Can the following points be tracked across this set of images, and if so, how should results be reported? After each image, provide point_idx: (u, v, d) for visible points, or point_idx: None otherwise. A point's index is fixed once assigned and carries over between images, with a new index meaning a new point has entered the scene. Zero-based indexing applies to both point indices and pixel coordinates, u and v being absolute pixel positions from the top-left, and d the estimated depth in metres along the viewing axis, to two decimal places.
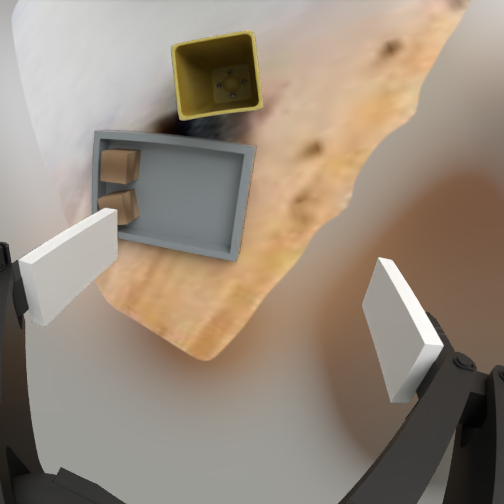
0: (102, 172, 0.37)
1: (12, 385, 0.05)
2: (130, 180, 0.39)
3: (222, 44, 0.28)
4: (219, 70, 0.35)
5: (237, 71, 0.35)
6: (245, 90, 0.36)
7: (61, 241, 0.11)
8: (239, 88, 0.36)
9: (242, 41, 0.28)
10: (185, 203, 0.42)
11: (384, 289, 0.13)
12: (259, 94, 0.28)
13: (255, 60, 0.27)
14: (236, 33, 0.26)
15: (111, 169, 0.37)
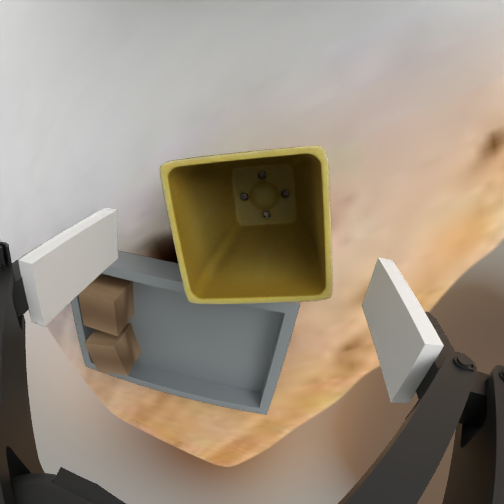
0: (84, 316, 0.27)
1: (12, 385, 0.05)
2: (123, 326, 0.28)
3: None
4: (244, 171, 0.24)
5: (274, 175, 0.24)
6: (286, 208, 0.25)
7: (61, 241, 0.11)
8: (277, 204, 0.25)
9: None
10: (200, 348, 0.31)
11: (384, 289, 0.13)
12: (328, 276, 0.17)
13: (326, 214, 0.16)
14: (291, 151, 0.15)
15: (95, 316, 0.27)
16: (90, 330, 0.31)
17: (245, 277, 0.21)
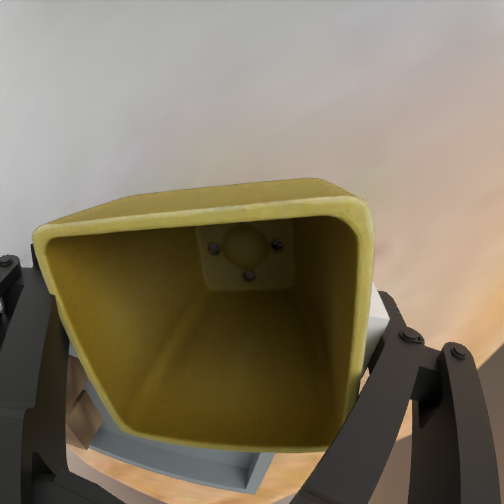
0: None
1: (49, 387, 0.06)
2: (73, 400, 0.19)
3: None
4: None
5: None
6: (279, 267, 0.16)
7: None
8: (265, 261, 0.16)
9: None
10: None
11: None
12: None
13: (358, 342, 0.07)
14: (286, 210, 0.06)
15: None
16: None
17: (209, 395, 0.12)
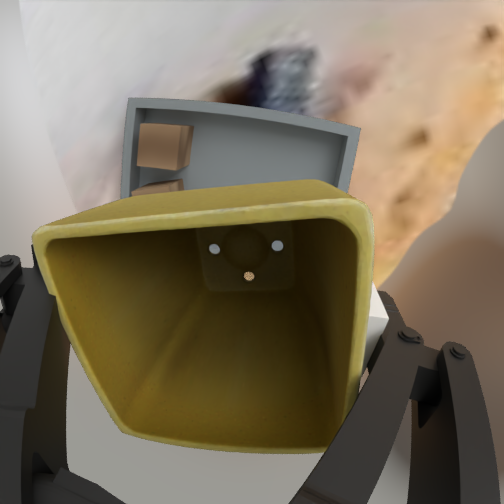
0: (140, 153, 0.27)
1: (50, 387, 0.06)
2: (181, 166, 0.28)
3: None
4: None
5: None
6: (279, 268, 0.16)
7: None
8: (265, 262, 0.16)
9: None
10: None
11: None
12: None
13: (358, 344, 0.07)
14: (286, 212, 0.06)
15: (154, 149, 0.27)
16: None
17: (209, 396, 0.12)
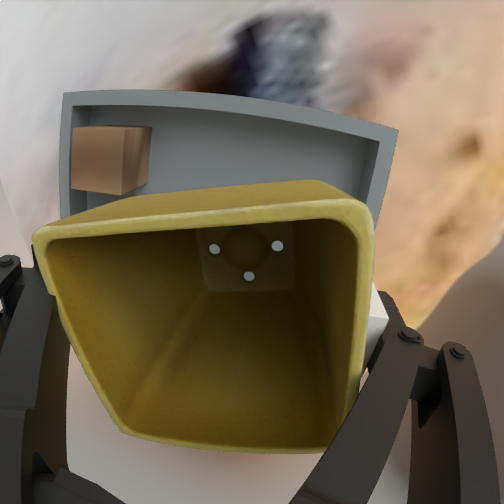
0: (74, 171, 0.18)
1: (50, 387, 0.06)
2: (131, 187, 0.19)
3: None
4: None
5: None
6: (279, 268, 0.16)
7: None
8: (265, 262, 0.16)
9: None
10: None
11: None
12: None
13: (358, 344, 0.07)
14: (286, 212, 0.06)
15: (92, 165, 0.17)
16: None
17: (209, 396, 0.12)
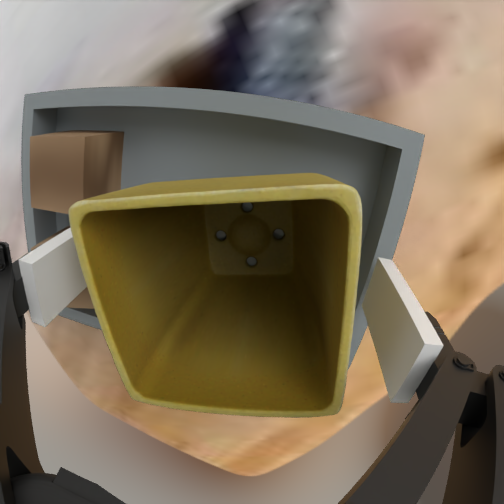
0: (33, 187, 0.14)
1: (12, 385, 0.05)
2: None
3: None
4: None
5: (264, 208, 0.17)
6: (280, 254, 0.18)
7: (61, 241, 0.11)
8: (266, 249, 0.18)
9: None
10: None
11: (384, 289, 0.13)
12: (338, 391, 0.10)
13: (349, 307, 0.09)
14: (293, 193, 0.08)
15: (50, 180, 0.14)
16: None
17: (214, 366, 0.13)
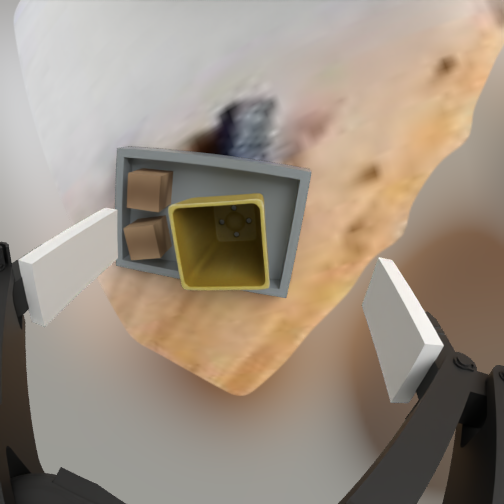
0: (129, 198, 0.33)
1: (12, 385, 0.05)
2: (163, 207, 0.35)
3: None
4: (222, 205, 0.36)
5: (241, 208, 0.36)
6: (249, 230, 0.37)
7: (61, 241, 0.11)
8: (243, 227, 0.37)
9: None
10: None
11: (384, 289, 0.13)
12: (266, 274, 0.29)
13: (263, 237, 0.28)
14: (242, 202, 0.27)
15: (140, 195, 0.33)
16: None
17: (218, 275, 0.33)
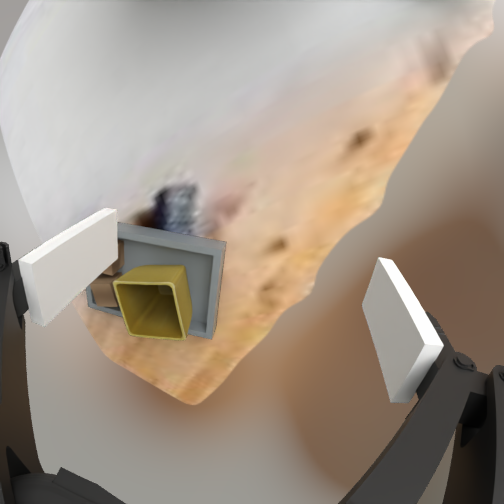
0: None
1: (12, 385, 0.05)
2: (116, 270, 0.44)
3: None
4: None
5: None
6: None
7: (61, 241, 0.11)
8: None
9: None
10: None
11: (384, 289, 0.13)
12: (182, 331, 0.39)
13: (177, 307, 0.38)
14: (160, 283, 0.36)
15: None
16: None
17: (155, 325, 0.42)
